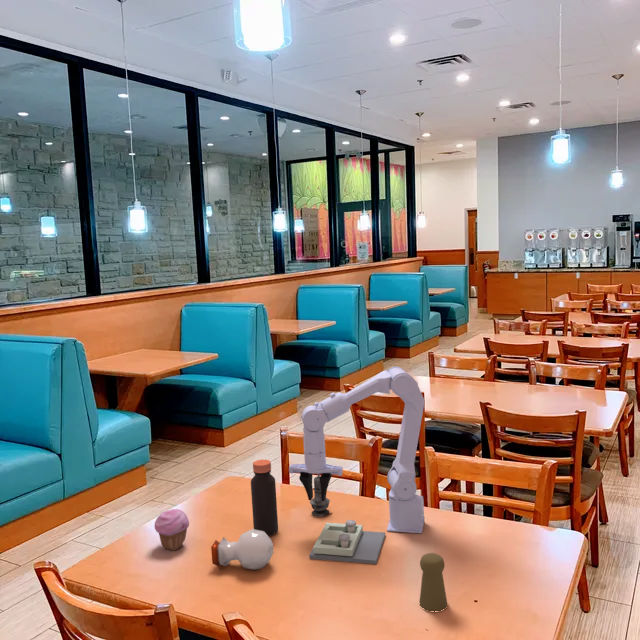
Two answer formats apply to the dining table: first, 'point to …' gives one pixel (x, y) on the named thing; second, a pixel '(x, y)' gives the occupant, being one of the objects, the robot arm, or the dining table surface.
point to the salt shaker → (319, 500)
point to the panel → (336, 540)
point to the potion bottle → (244, 550)
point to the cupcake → (172, 528)
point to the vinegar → (264, 498)
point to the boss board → (357, 547)
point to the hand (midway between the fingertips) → (317, 499)
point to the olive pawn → (432, 583)
